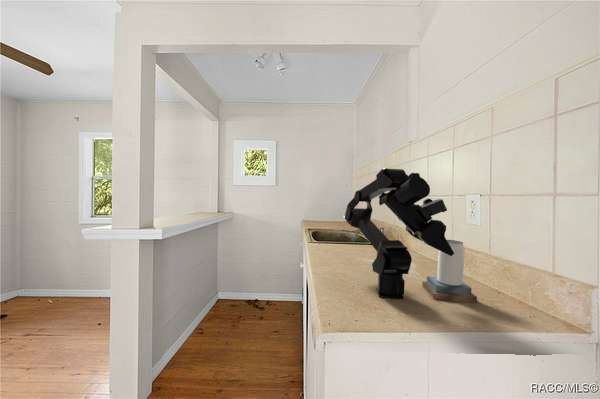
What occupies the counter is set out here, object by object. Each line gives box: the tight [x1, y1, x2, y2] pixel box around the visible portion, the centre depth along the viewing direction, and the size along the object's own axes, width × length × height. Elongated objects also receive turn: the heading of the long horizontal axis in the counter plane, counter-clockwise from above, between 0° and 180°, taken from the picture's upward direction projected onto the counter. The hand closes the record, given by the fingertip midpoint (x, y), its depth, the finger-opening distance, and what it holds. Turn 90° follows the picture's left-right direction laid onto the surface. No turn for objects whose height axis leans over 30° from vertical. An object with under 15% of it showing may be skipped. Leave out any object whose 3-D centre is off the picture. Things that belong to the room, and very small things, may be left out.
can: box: [436, 239, 466, 286], centre depth 78 cm, size 6×6×12 cm
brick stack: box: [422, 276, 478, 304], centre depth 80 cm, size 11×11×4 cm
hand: (446, 251), depth 73 cm, fingers open, 9 cm apart
